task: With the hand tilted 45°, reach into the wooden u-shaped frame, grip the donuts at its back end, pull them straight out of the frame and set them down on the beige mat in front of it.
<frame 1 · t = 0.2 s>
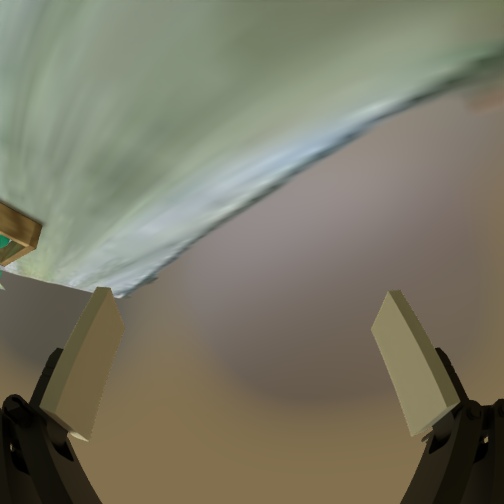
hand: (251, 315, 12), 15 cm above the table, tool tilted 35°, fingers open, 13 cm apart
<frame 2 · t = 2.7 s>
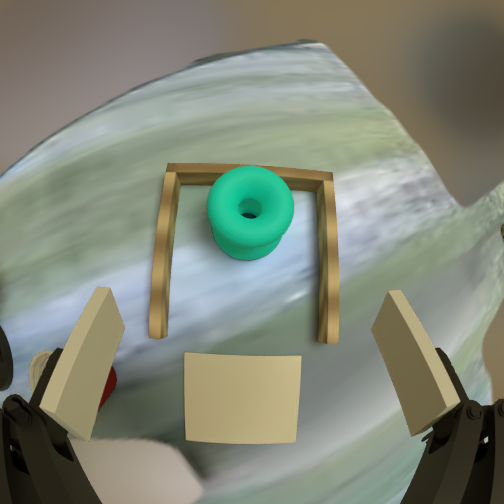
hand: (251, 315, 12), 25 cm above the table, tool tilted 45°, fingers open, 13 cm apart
donuts: (247, 228, 39), on the table
wooden u-shaped frame: (246, 254, 38), on the table
beige mat: (241, 401, 34), on the table
plastic cup: (101, 376, 33), on the table
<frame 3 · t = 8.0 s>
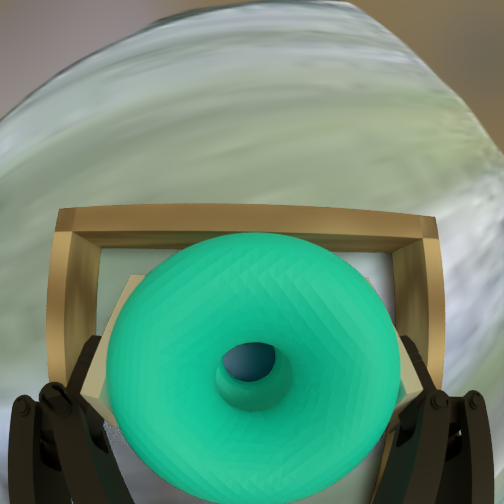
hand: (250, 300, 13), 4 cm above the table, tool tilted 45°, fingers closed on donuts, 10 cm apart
donuts: (247, 351, 16), on the table, touching gripper
wooden u-shaped frame: (247, 409, 15), on the table
when the fingers open (5 cm above the table, at t = 15.1 s): donuts stays where it is, resting on beige mat.
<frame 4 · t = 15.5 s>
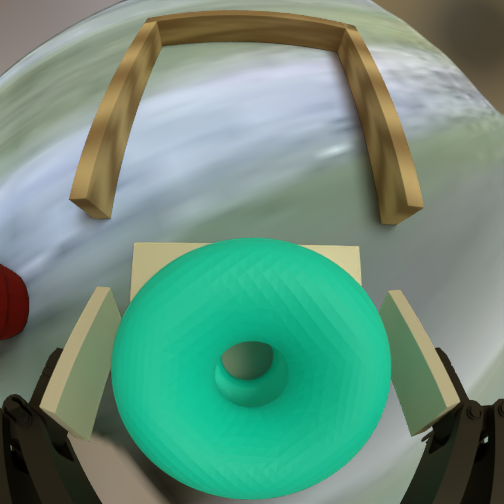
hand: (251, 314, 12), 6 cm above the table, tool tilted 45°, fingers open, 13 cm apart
donuts: (246, 350, 17), resting on beige mat
wooden u-shaped frame: (249, 97, 22), on the table
beige mat: (247, 349, 17), on the table
plastic cup: (12, 306, 17), on the table
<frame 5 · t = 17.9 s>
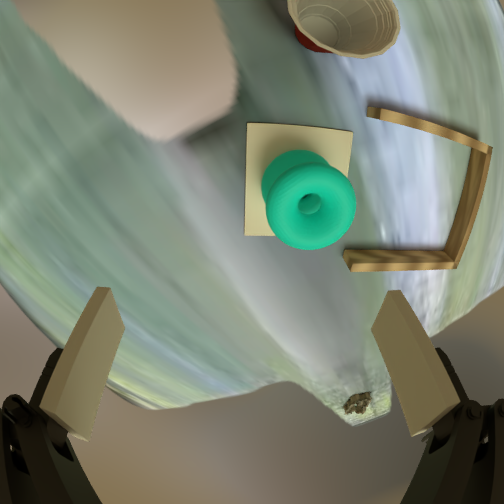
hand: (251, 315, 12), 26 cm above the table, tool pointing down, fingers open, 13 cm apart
donuts: (297, 183, 36), resting on beige mat
rough brown lump: (355, 399, 73), on the table
wooden u-shaped frame: (420, 194, 37), on the table
beige mat: (297, 183, 36), on the table
plastic cup: (314, 33, 25), on the table
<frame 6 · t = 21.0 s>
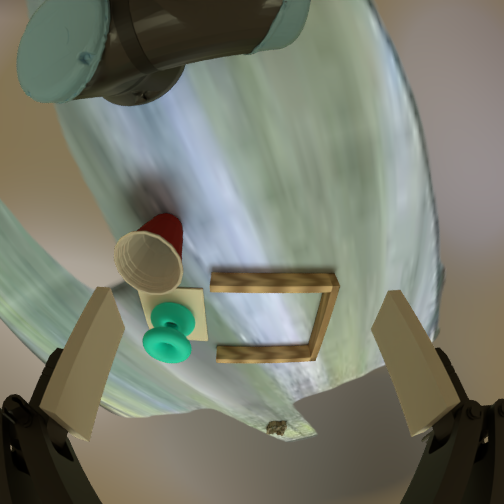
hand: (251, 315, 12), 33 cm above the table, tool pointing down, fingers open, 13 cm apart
donuts: (174, 315, 57), resting on beige mat
rough brown lump: (275, 424, 94), on the table
wooden u-shaped frame: (270, 317, 58), on the table
beige mat: (174, 315, 57), on the table
plastic cup: (166, 227, 46), on the table
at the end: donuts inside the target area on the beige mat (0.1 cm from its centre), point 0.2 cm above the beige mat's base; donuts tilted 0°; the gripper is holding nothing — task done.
